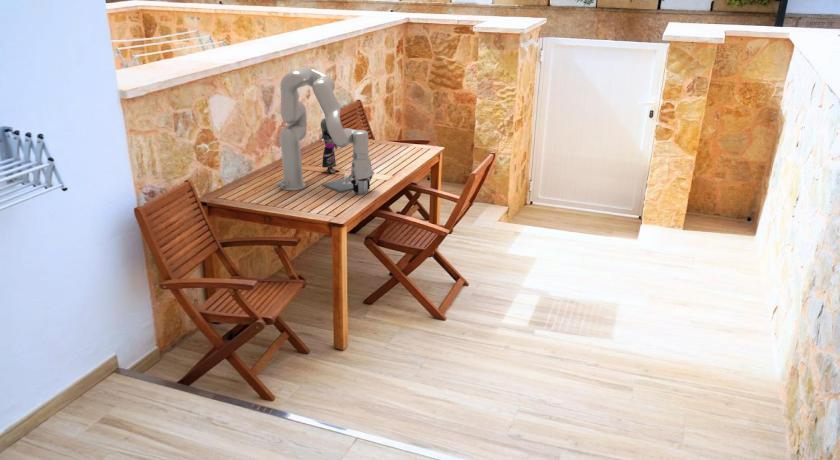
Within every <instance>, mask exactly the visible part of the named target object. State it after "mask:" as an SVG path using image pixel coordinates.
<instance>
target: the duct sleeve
mask: <svg viewBox="0 0 840 460" xmlns="http://www.w3.org/2000/svg"><path fill="white" fill-rule="evenodd" d="M355 182H356V180H355ZM357 185H358V193H356V192H354V194H356V195H358V196H359V195H360V196H361V195H363V196H364V195H367V194H368V193H369V190H368V178H365V179H361V180H358V183H357Z"/></svg>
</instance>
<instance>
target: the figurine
mask: <svg viewBox="0 0 840 460" xmlns="http://www.w3.org/2000/svg"><path fill="white" fill-rule="evenodd" d="M320 130H321V135H322V137H320V141H321V142H324V145H325V146H324V150H323V155H322V162H321V163H322V164H321V166H322V168H326V172H327V173H328V174H333V175H334V174H335V173H336V172H337V169H336V168H334V167H336V166H337V163H336V156H335V155H336V154H335V151H338V150H339V149H338V148H339V147H338V146H337V145H336V144H335V143H334V142H333V140H332V138H331V136H330V134H329V132H328V129H327V126H326V121H325V117H324V118H323V119H321V121H320Z"/></svg>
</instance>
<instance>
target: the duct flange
mask: <svg viewBox="0 0 840 460" xmlns="http://www.w3.org/2000/svg"><path fill="white" fill-rule="evenodd" d="M349 176H350V174H349V173H344V178H341V179H336V180H333V181H329V182H324V183H322V184H321V186H322V187H324V188H326V189H329V190H332V191H334V192H338V193H339V194H343V193H346V192H350V191H353V184H352V183H351V182H350V181H349V180H348V178H349Z"/></svg>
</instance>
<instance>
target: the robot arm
mask: <svg viewBox="0 0 840 460" xmlns="http://www.w3.org/2000/svg"><path fill="white" fill-rule="evenodd" d="M305 86H308V87H311V88H312V92H313V94H314V95H315V98H316V100H317V102H318V103H319V106H320V108H321V110H322V112H323V114H324V118H325V121H326V126H327V129H328V132H329V134H330V136H331V138H332V140H333V142H334V143H335V144H336V145H337V146H338V148H340V149H341V148H346V147H347V146H349V145H350V144H352V155H351V158H352V159H351V167H350V168H351V170H350V174H349V178H348V180H349V181H350V182H351V183H352V184H353V190H352V191H353V192H354V193H355V192H356V193H358V185H357V183H358V180H361V179H365V178H368V191H370V189H371V184H370V182H371V181H372V179H373V176H374V174H375V172H374V171H373V169H372V167H373V166H372V162H371V157H369V132H368V131H367V130H364V129H353V128H349V127H346V128H343V125H342V121H341V118H340V117H341V105H340V103H339V100H338V98H337V97H336V95H335V92H334V91H335V88H336V83H335V81H334V80H333V78H331V77H330V76H328V75H326V74H324V73H322V72H320V71H318V70H316V69H314V68H311V67H308V66H302V67H300V68H296V69H294V70H292V71H289V72H288V73H286V74H284V75H283V77H282V79H281V81H280V116H281V119H282V122H284V123H286V124H287V125H286V126H283V128H281V130H280V132H279V135H278V137H279V138H278V139H279V144H280V150H281V161H282V163H281V164H282V175H283V176H282V178H281V180H280V181H279V182H275V184H274V185H275V187H280V188H281V189H282V190H285V191H301V190H303V189H305V188H306V187H307V184H306V183H305V182H304V181H303V166H302V165H303V164H302V161H303V160H302V150H301V146H300V142H301V141H302V140H303V139H304V138H306V135H307V125H308V124H307V109H306V106H305V105H304V103H303V102H301V101H300V100H299V92H298V89H301V88H302V87H305ZM355 180H356V182H355Z"/></svg>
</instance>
